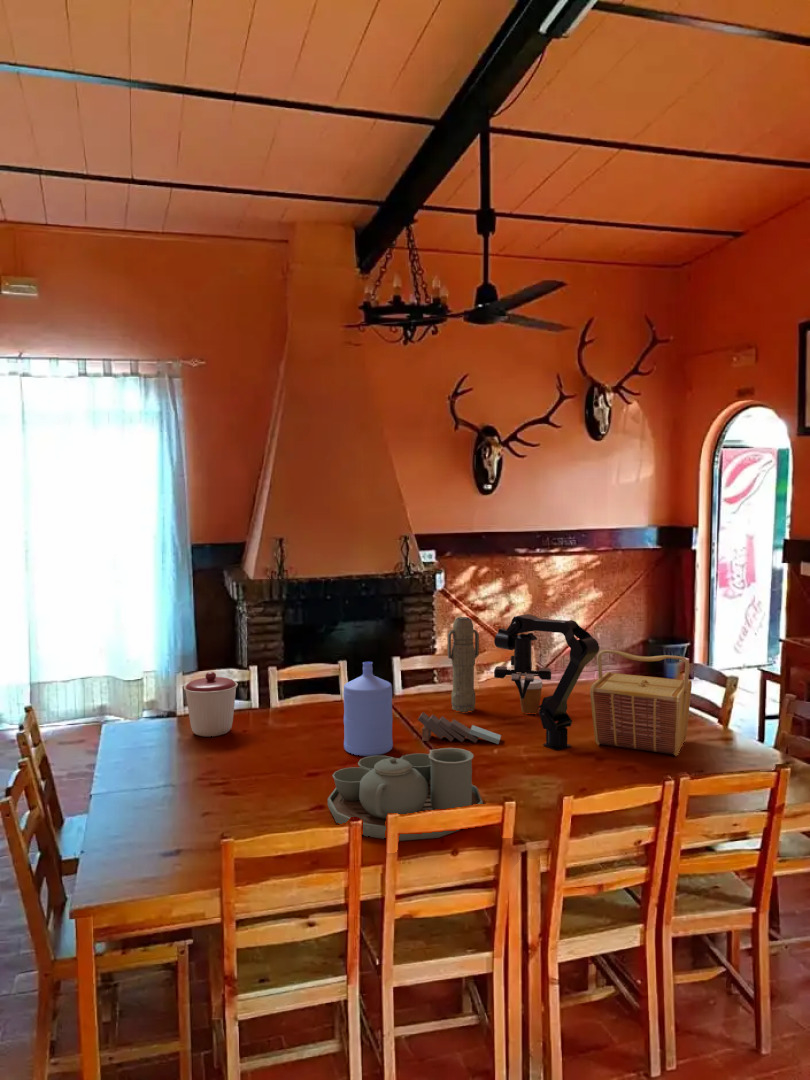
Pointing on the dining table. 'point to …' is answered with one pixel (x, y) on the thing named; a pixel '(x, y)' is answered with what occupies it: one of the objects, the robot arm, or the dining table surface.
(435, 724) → the domino
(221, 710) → the canister
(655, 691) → the picnic basket
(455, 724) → the domino
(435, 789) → the tea set
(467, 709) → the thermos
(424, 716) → the domino
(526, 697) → the disposable coffee cup
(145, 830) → the dining table surface
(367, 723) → the water jug
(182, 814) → the dining table surface
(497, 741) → the teal domino
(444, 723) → the domino
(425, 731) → the end block
